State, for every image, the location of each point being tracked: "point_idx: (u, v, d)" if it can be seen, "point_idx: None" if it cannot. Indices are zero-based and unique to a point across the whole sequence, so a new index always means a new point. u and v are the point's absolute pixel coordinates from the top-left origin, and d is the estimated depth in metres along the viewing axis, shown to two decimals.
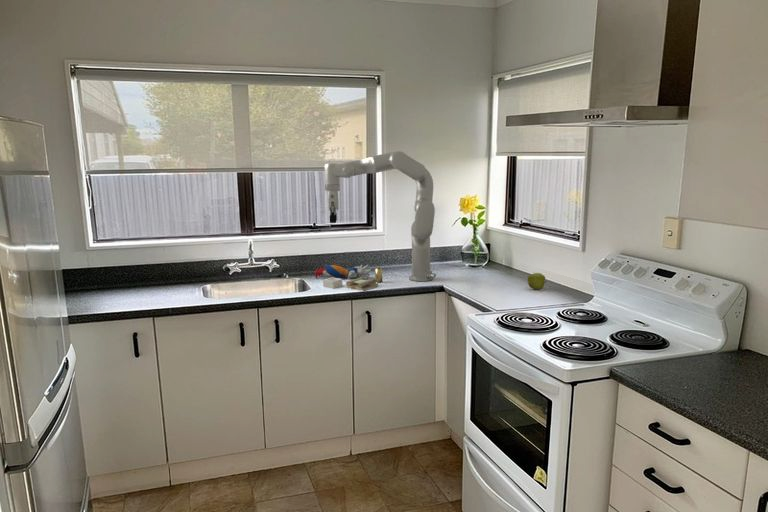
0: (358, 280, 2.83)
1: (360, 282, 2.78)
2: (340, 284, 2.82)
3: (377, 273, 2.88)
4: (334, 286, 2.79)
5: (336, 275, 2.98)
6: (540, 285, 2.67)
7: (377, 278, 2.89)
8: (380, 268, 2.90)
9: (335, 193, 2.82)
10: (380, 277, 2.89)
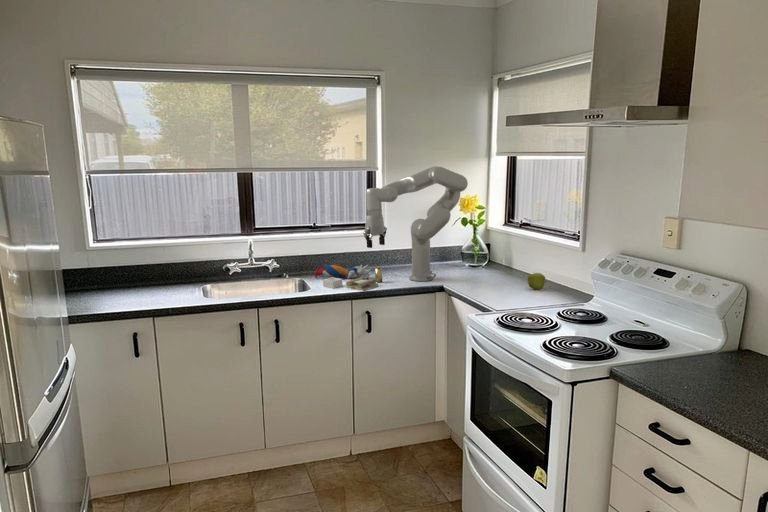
0: (358, 280, 2.83)
1: (360, 282, 2.78)
2: (340, 284, 2.82)
3: (377, 273, 2.88)
4: (334, 286, 2.79)
5: (336, 275, 2.98)
6: (540, 285, 2.67)
7: (377, 278, 2.89)
8: (380, 268, 2.90)
9: None
10: (380, 277, 2.89)
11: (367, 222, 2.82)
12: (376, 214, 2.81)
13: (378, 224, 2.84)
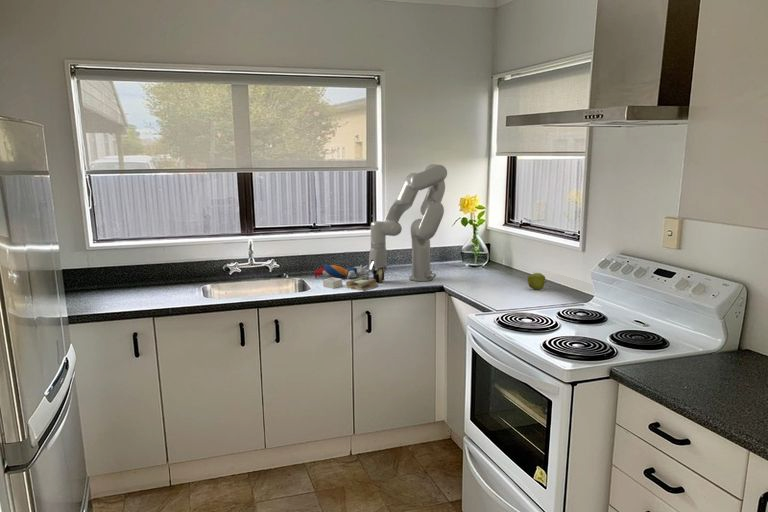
0: (358, 280, 2.83)
1: (360, 282, 2.78)
2: (340, 284, 2.82)
3: None
4: (334, 286, 2.79)
5: (336, 275, 2.98)
6: (540, 285, 2.67)
7: None
8: (380, 268, 2.90)
9: None
10: (380, 277, 2.89)
11: (371, 255, 2.85)
12: (380, 247, 2.84)
13: (381, 257, 2.87)
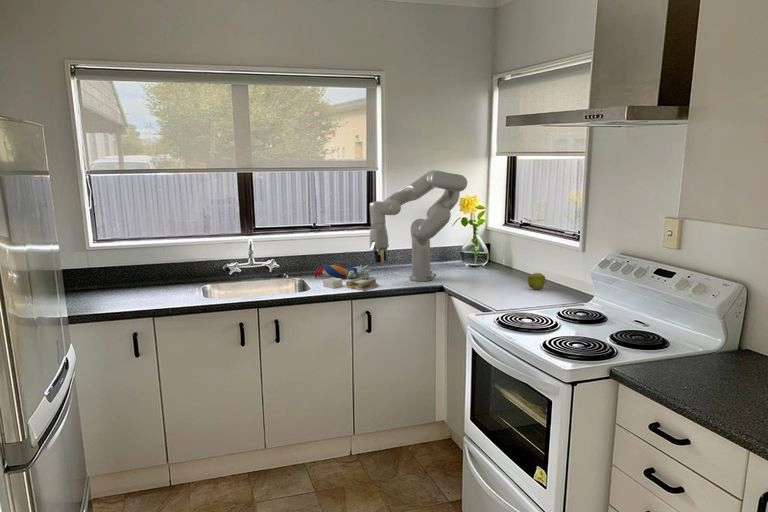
0: (358, 280, 2.83)
1: (360, 282, 2.78)
2: (340, 284, 2.82)
3: None
4: (334, 286, 2.79)
5: (336, 275, 2.98)
6: (540, 285, 2.67)
7: None
8: None
9: None
10: (382, 257, 2.87)
11: (371, 236, 2.83)
12: (380, 227, 2.82)
13: (382, 237, 2.85)
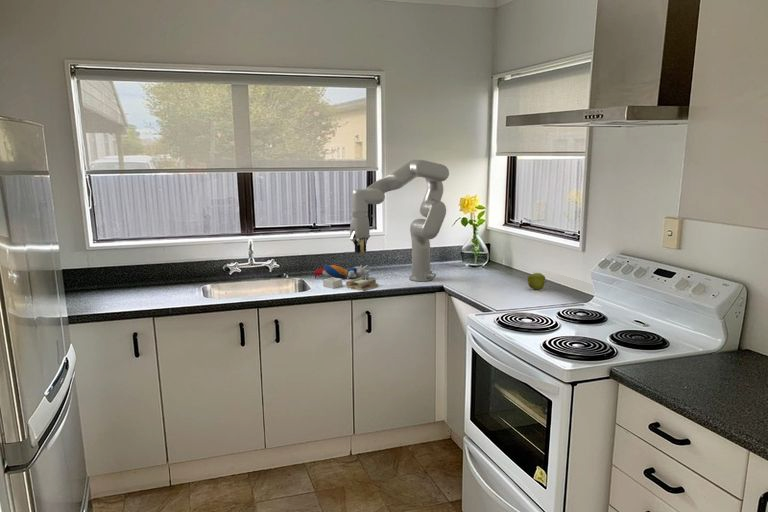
0: (358, 280, 2.83)
1: (360, 282, 2.78)
2: (340, 284, 2.82)
3: None
4: (334, 286, 2.79)
5: (335, 275, 2.98)
6: (540, 285, 2.67)
7: None
8: None
9: None
10: (361, 248, 2.77)
11: (352, 224, 2.73)
12: (362, 216, 2.72)
13: (363, 226, 2.74)
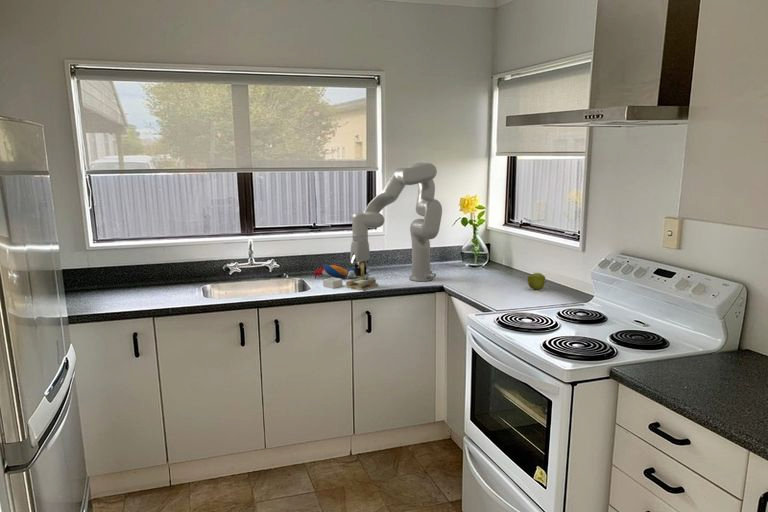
0: (358, 280, 2.83)
1: (360, 282, 2.78)
2: (340, 284, 2.82)
3: None
4: (334, 286, 2.79)
5: (335, 275, 2.98)
6: (540, 285, 2.67)
7: None
8: (362, 262, 2.80)
9: None
10: (362, 271, 2.78)
11: (352, 248, 2.74)
12: (362, 240, 2.74)
13: (363, 250, 2.76)
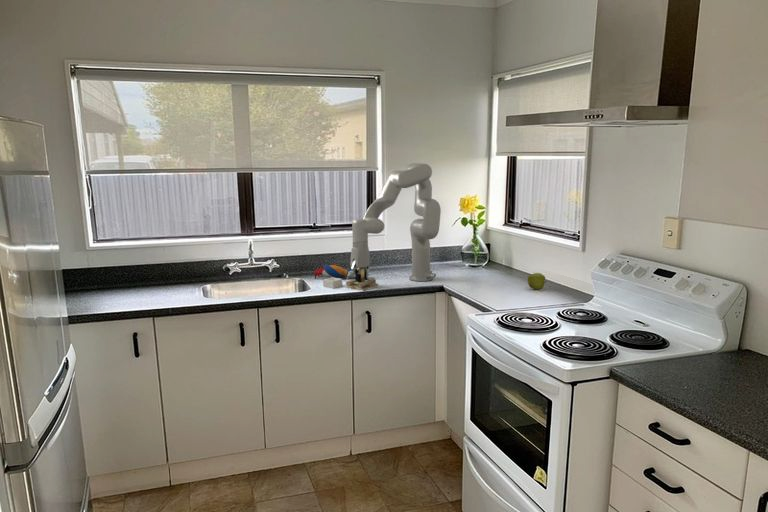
0: None
1: None
2: (340, 284, 2.82)
3: None
4: (334, 286, 2.79)
5: (335, 275, 2.98)
6: (540, 285, 2.67)
7: None
8: None
9: None
10: (362, 277, 2.79)
11: (352, 254, 2.75)
12: (362, 246, 2.74)
13: (364, 256, 2.77)
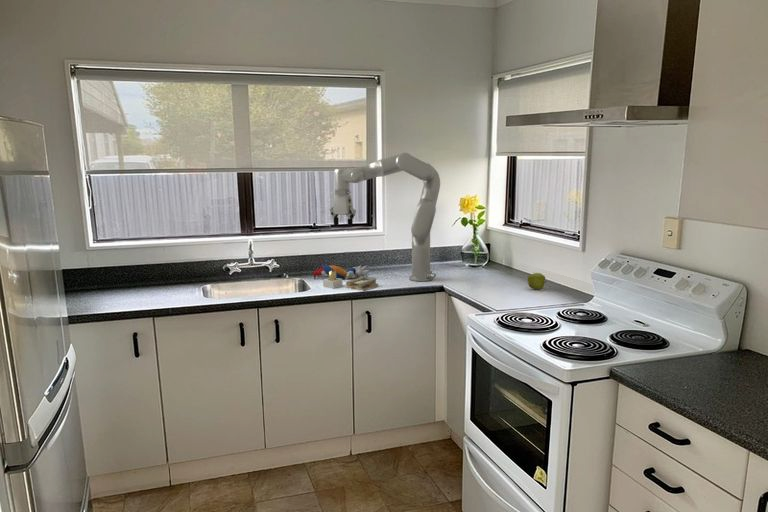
0: (358, 281, 2.83)
1: None
2: (340, 284, 2.82)
3: None
4: (334, 286, 2.79)
5: None
6: (540, 285, 2.67)
7: None
8: (333, 271, 2.81)
9: (350, 197, 2.91)
10: None
11: None
12: (335, 194, 2.91)
13: (338, 203, 2.91)
